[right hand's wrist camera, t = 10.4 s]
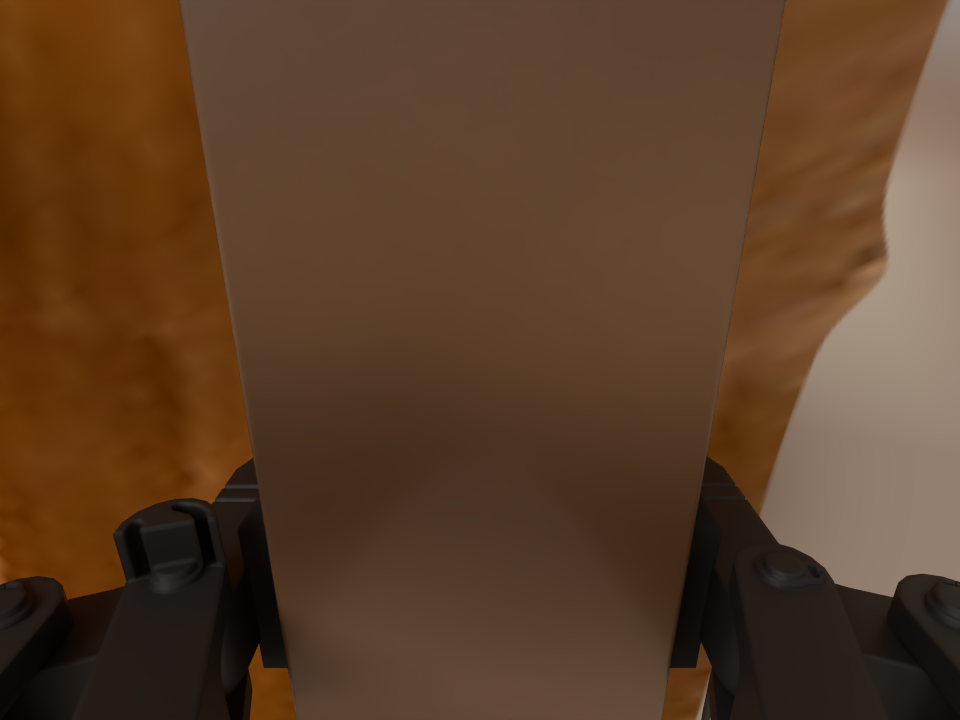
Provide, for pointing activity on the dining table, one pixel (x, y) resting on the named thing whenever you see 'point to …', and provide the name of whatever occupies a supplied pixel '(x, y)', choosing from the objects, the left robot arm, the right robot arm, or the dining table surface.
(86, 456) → the dining table surface
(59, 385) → the dining table surface
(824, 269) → the dining table surface
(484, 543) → the beam
